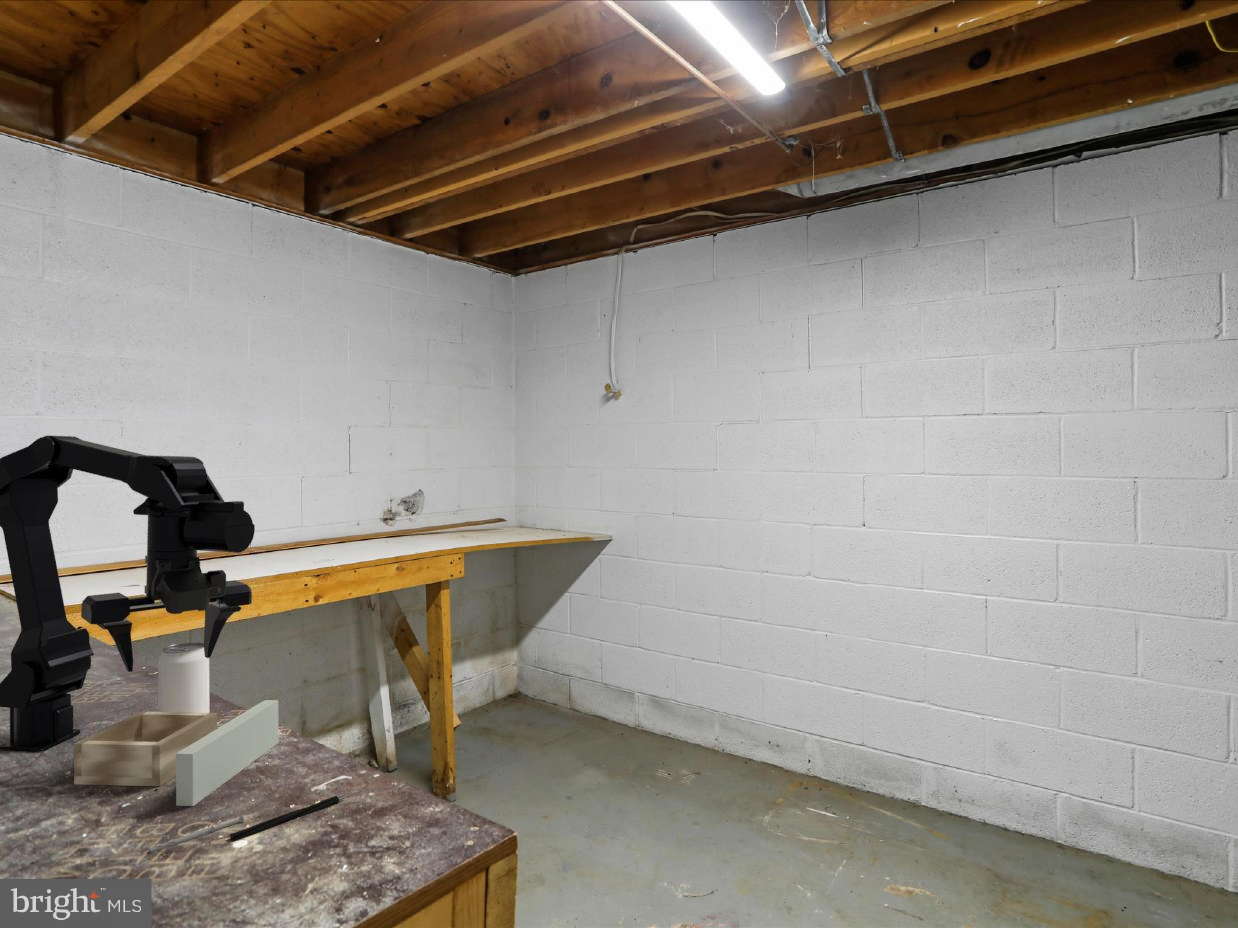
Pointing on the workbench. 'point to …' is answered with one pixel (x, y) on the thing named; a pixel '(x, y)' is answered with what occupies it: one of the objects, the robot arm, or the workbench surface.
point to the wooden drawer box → (139, 748)
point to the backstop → (225, 752)
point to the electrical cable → (285, 818)
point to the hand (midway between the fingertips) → (170, 663)
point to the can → (183, 679)
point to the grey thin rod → (196, 834)
